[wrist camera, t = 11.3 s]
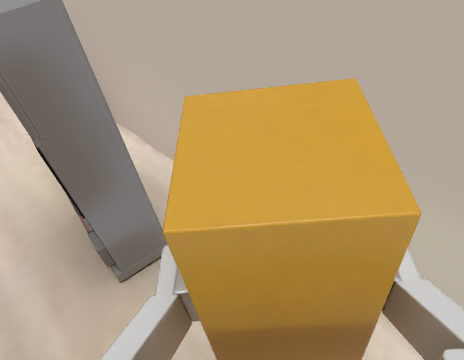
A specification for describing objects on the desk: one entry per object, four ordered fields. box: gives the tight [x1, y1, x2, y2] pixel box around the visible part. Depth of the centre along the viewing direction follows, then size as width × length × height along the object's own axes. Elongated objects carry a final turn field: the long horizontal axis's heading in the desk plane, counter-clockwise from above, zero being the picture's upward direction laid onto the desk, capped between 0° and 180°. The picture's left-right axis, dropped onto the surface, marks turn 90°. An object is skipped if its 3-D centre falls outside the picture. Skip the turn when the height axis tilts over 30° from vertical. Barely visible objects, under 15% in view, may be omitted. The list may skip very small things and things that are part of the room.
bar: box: [163, 79, 421, 360], centre depth 11 cm, size 4×4×11 cm
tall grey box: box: [0, 0, 168, 282], centre depth 31 cm, size 14×6×25 cm, turn 36°
